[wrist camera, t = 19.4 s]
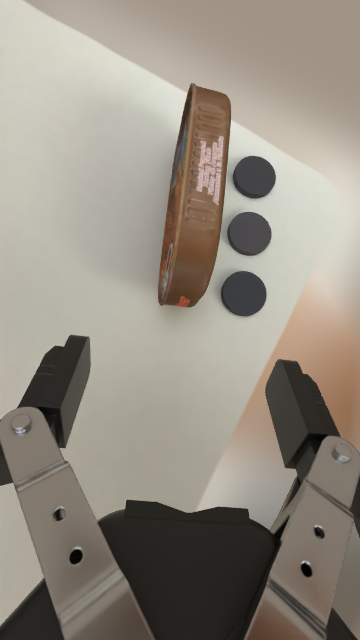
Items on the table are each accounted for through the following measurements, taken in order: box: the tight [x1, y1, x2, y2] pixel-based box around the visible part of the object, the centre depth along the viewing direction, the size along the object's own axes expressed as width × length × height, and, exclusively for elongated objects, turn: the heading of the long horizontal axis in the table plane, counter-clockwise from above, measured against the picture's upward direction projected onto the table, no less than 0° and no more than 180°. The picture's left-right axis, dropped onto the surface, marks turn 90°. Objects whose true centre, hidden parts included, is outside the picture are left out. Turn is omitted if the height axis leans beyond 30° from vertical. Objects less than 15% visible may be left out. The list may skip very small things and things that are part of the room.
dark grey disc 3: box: [221, 271, 266, 316], centre depth 25 cm, size 4×4×1 cm
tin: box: [158, 83, 231, 307], centre depth 22 cm, size 15×3×8 cm, turn 174°
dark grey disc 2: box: [228, 212, 271, 255], centre depth 26 cm, size 4×4×1 cm
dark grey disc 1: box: [233, 156, 276, 198], centre depth 27 cm, size 4×4×1 cm
